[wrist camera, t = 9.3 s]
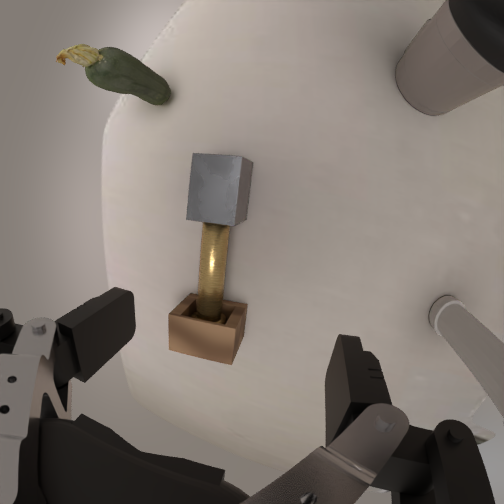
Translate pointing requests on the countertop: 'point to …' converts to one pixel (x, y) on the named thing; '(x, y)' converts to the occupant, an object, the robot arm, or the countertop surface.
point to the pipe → (472, 345)
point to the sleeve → (219, 189)
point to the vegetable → (118, 72)
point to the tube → (212, 272)
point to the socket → (207, 331)
